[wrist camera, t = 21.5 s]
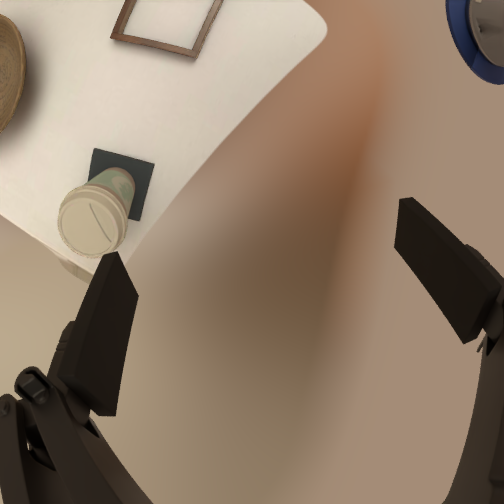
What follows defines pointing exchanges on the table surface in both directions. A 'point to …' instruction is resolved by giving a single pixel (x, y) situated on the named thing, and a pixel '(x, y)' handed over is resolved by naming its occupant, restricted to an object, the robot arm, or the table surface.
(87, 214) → the coffee cup
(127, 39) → the wooden square frame
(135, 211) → the felt mat
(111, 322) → the robot arm
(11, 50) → the bowl
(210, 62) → the table surface
